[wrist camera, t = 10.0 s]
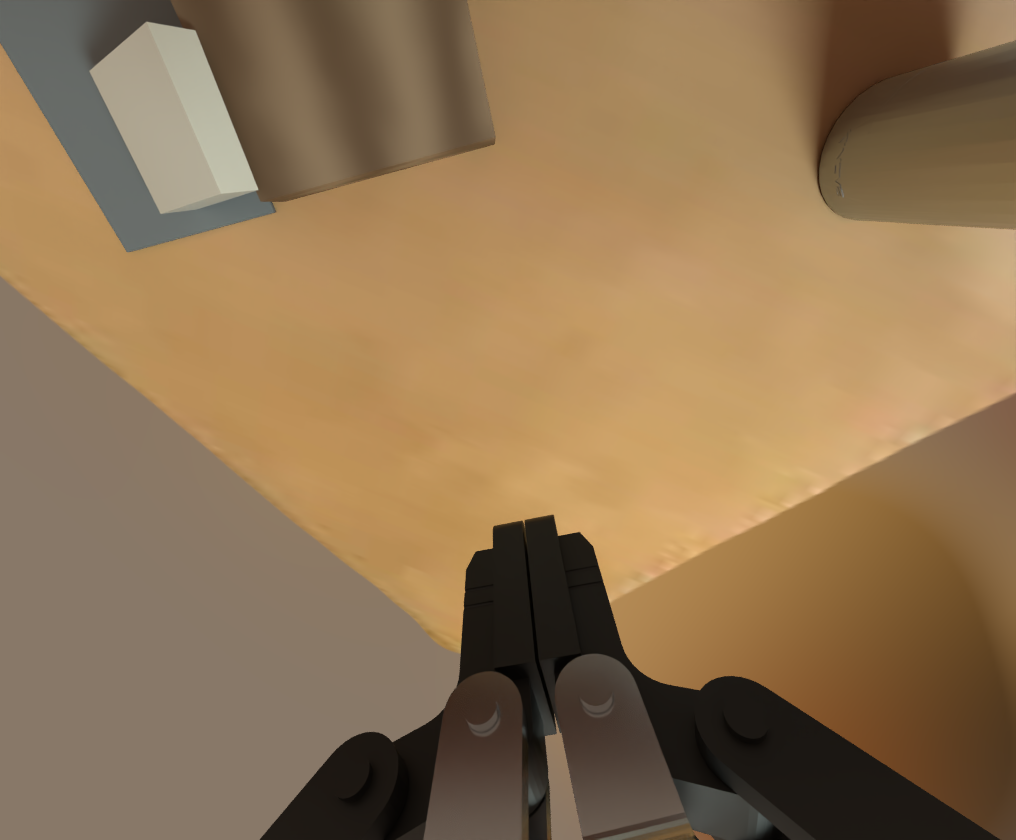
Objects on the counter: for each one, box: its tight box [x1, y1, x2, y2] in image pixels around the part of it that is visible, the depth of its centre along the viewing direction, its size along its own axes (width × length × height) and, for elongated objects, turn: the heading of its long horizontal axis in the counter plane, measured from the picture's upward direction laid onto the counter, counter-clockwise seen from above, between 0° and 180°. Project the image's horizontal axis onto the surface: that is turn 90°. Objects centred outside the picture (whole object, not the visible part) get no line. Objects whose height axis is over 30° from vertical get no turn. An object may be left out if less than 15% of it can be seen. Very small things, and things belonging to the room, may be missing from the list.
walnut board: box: [171, 0, 496, 202], centre depth 26 cm, size 16×18×4 cm
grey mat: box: [0, 0, 276, 252], centre depth 29 cm, size 12×15×1 cm
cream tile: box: [89, 22, 258, 214], centre depth 27 cm, size 8×8×2 cm
